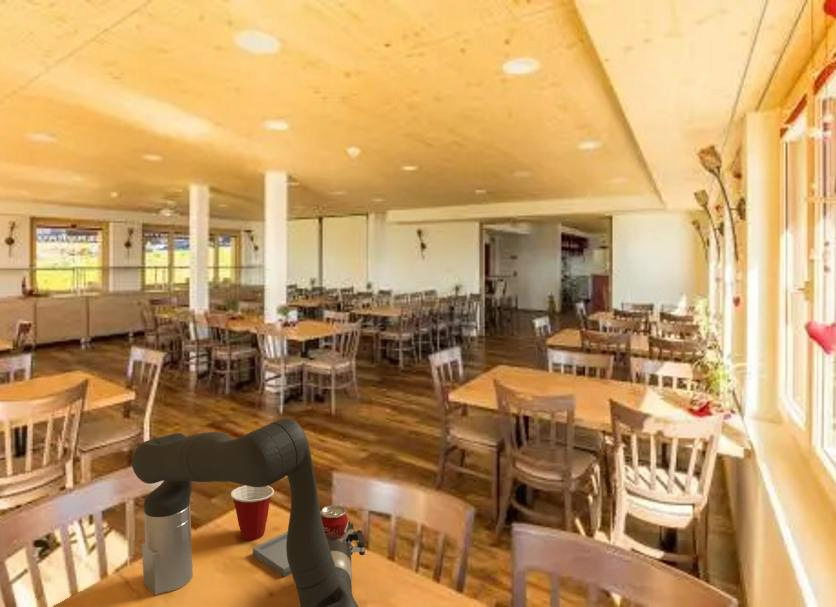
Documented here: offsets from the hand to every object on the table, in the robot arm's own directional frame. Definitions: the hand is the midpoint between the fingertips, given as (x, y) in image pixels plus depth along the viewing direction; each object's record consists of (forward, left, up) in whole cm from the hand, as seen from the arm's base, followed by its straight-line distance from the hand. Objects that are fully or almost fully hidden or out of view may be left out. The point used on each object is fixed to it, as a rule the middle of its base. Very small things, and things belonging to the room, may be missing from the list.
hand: (332, 526), depth 119 cm
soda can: (-1, -2, -7) cm, 8 cm away
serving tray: (-2, +13, -11) cm, 17 cm away
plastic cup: (-3, +28, -11) cm, 30 cm away
